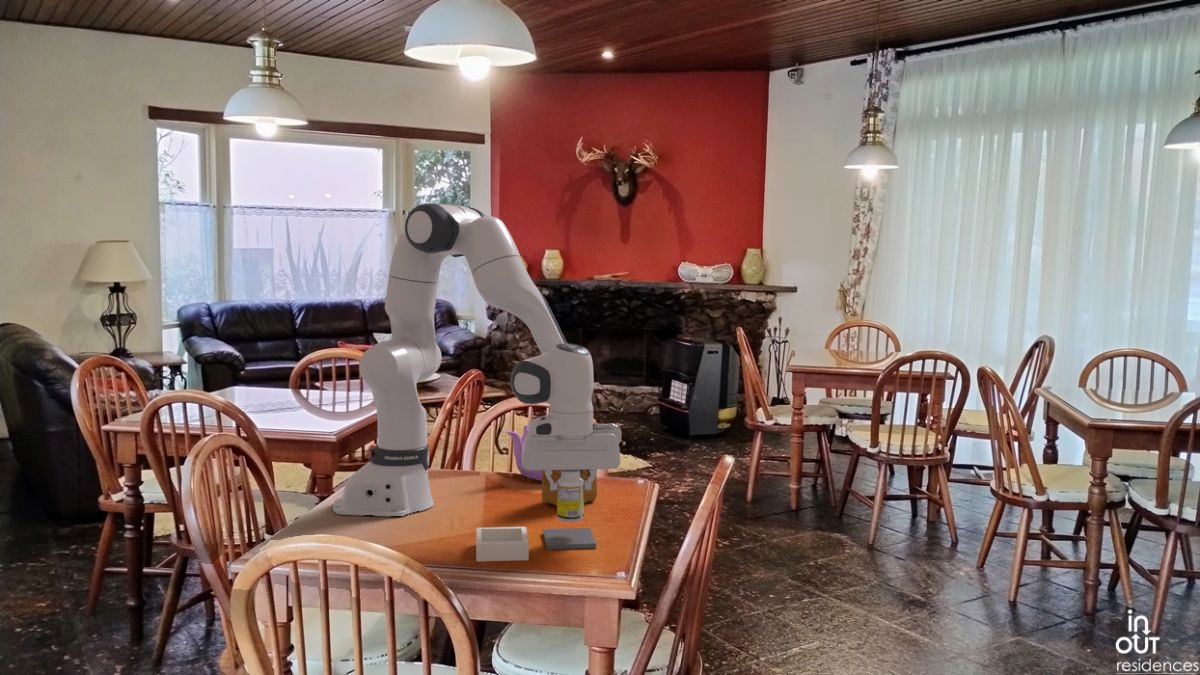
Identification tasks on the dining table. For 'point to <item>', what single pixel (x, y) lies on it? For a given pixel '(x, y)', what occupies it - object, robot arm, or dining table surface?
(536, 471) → the teapot
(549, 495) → the coffee package
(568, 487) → the supplement bottle
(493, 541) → the pocket
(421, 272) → the robot arm
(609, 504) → the dining table surface
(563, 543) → the coaster
